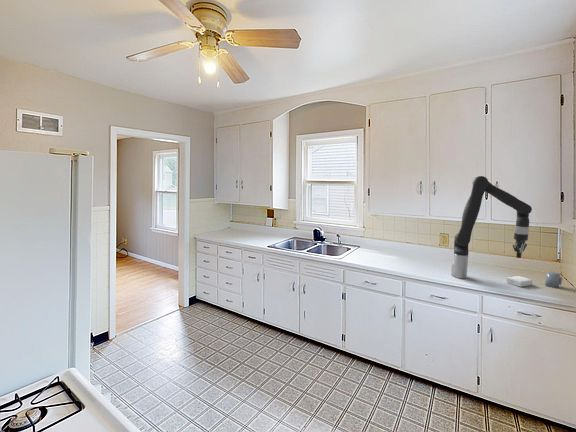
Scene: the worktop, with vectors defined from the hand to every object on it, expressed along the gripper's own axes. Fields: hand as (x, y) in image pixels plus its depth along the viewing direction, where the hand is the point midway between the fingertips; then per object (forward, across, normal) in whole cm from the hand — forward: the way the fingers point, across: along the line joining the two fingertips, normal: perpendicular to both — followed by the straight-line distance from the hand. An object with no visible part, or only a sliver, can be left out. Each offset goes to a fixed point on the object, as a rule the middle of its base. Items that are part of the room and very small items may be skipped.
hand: (518, 257), depth 206 cm
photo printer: (+17, +4, 0) cm, 17 cm away
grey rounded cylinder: (+18, -17, +13) cm, 28 cm away
